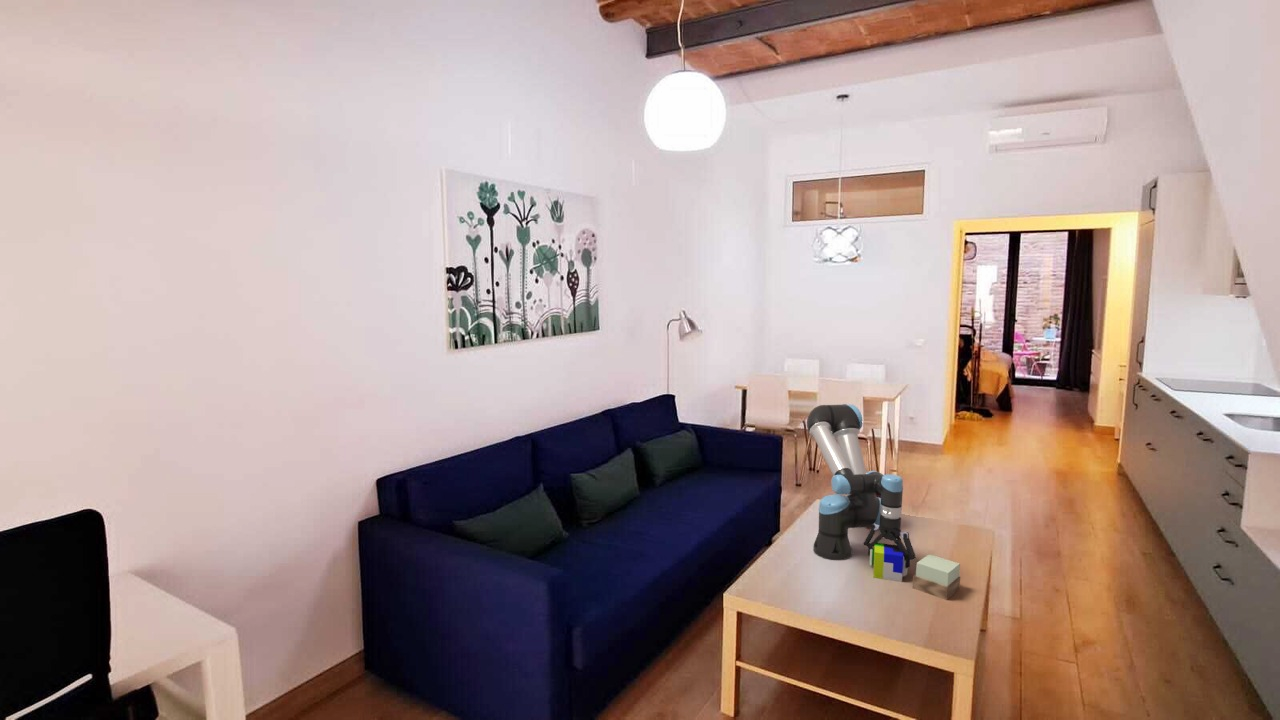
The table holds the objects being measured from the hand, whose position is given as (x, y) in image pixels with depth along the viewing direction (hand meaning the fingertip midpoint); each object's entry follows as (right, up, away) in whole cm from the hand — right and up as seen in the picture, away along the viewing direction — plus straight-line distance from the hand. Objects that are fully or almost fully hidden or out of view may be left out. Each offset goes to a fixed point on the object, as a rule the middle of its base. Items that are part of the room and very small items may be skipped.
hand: (887, 569), depth 243 cm
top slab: (+13, +2, -14) cm, 19 cm away
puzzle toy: (-1, -1, -1) cm, 2 cm away
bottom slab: (+12, -3, -13) cm, 18 cm away
